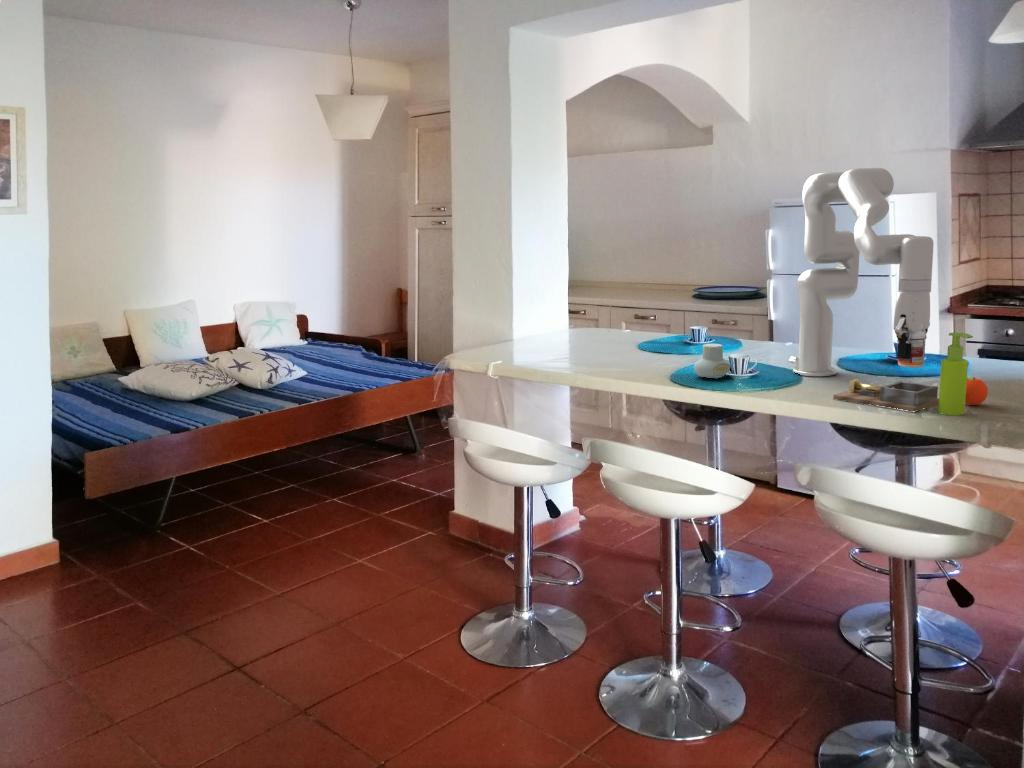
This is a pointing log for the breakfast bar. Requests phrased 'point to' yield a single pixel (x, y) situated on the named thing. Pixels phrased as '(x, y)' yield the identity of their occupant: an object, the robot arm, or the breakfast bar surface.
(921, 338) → the pill bottle
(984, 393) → the clementine
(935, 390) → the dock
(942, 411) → the soap dispenser
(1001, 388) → the breakfast bar surface
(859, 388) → the lock pin
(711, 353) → the air freshener
